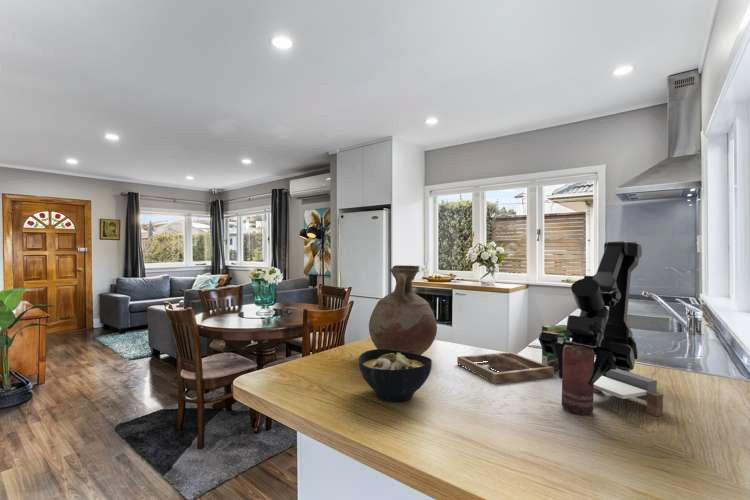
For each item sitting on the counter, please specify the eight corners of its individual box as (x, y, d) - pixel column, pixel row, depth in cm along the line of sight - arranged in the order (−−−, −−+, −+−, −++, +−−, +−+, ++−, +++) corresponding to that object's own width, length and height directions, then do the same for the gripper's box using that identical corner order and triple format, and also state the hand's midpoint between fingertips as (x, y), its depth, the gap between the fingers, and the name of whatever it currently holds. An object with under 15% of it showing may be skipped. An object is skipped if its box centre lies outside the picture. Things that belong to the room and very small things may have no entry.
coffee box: (546, 371, 109) (547, 326, 109) (540, 368, 112) (541, 324, 112) (570, 370, 111) (571, 326, 111) (563, 367, 114) (564, 324, 114)
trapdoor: (610, 384, 94) (611, 366, 94) (660, 401, 83) (660, 381, 83) (576, 389, 90) (577, 370, 90) (624, 408, 79) (624, 387, 79)
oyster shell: (526, 379, 103) (527, 361, 103) (481, 370, 109) (482, 353, 110) (532, 370, 111) (533, 353, 111) (490, 362, 118) (491, 347, 118)
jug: (429, 350, 130) (431, 264, 130) (443, 370, 108) (446, 267, 108) (367, 349, 128) (369, 263, 129) (369, 369, 107) (371, 265, 107)
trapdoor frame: (594, 389, 95) (595, 372, 95) (662, 415, 80) (663, 394, 80) (589, 390, 94) (589, 372, 94) (656, 416, 80) (657, 395, 80)
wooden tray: (510, 359, 121) (510, 351, 121) (553, 376, 105) (553, 367, 105) (457, 364, 114) (457, 356, 114) (495, 383, 98) (495, 374, 98)
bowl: (392, 378, 100) (393, 341, 100) (445, 397, 88) (446, 354, 88) (343, 393, 88) (344, 351, 88) (396, 418, 76) (398, 368, 76)
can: (554, 403, 85) (556, 342, 84) (581, 403, 85) (582, 342, 85) (571, 416, 79) (572, 350, 78) (599, 415, 79) (601, 350, 79)
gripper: (542, 298, 92) (521, 350, 84) (632, 307, 78) (618, 370, 70) (553, 326, 97) (535, 377, 89) (640, 339, 84) (627, 401, 76)
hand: (574, 381), depth 81 cm, fingers open, 5 cm apart
